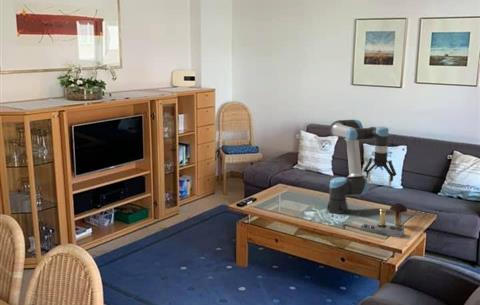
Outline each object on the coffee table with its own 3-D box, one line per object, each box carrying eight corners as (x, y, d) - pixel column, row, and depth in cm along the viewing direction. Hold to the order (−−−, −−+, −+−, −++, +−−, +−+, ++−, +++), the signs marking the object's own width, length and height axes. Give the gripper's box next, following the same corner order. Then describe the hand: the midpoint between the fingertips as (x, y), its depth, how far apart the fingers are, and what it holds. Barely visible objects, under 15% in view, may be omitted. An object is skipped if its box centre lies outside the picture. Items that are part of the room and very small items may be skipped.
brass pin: (377, 232, 309) (378, 209, 306) (379, 230, 312) (380, 208, 310) (384, 233, 307) (385, 210, 304) (386, 231, 310) (387, 209, 307)
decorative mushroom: (386, 222, 326) (387, 201, 323) (402, 222, 327) (403, 200, 324) (392, 228, 315) (393, 206, 312) (409, 228, 316) (410, 205, 313)
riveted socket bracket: (360, 230, 313) (360, 223, 312) (364, 226, 319) (364, 220, 318) (400, 237, 300) (401, 230, 299) (404, 234, 306) (404, 227, 305)
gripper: (359, 150, 313) (358, 182, 318) (399, 155, 300) (397, 189, 305) (363, 148, 320) (362, 179, 324) (402, 153, 306) (400, 185, 311)
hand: (379, 184), depth 315 cm, fingers open, 13 cm apart
